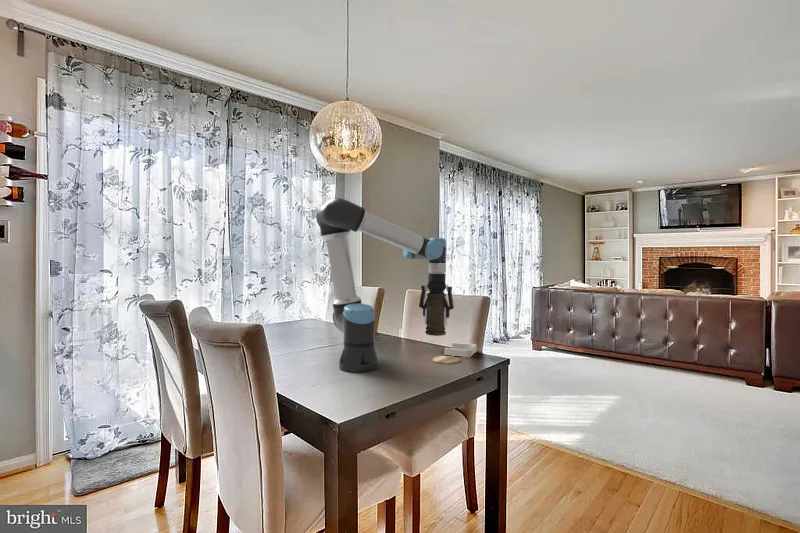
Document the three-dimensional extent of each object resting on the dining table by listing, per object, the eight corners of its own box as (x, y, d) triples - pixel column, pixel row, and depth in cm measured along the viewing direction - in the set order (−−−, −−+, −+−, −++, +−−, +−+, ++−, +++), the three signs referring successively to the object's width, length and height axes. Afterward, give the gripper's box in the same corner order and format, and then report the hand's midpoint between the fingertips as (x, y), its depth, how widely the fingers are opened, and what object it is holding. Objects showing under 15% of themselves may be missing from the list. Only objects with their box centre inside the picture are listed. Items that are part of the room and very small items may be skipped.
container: (446, 336, 182) (447, 294, 181) (425, 335, 182) (426, 294, 181) (444, 332, 191) (445, 292, 190) (424, 332, 191) (425, 292, 190)
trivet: (429, 362, 166) (429, 361, 166) (437, 356, 177) (437, 355, 177) (456, 365, 162) (456, 363, 162) (462, 358, 173) (462, 357, 173)
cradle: (444, 355, 178) (444, 348, 178) (452, 348, 191) (452, 342, 191) (470, 357, 174) (470, 350, 174) (477, 350, 187) (477, 344, 187)
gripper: (411, 272, 186) (410, 323, 186) (458, 273, 178) (456, 327, 179) (417, 272, 193) (416, 321, 193) (462, 273, 185) (461, 325, 186)
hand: (435, 324), depth 186 cm, fingers closed on container, 8 cm apart
